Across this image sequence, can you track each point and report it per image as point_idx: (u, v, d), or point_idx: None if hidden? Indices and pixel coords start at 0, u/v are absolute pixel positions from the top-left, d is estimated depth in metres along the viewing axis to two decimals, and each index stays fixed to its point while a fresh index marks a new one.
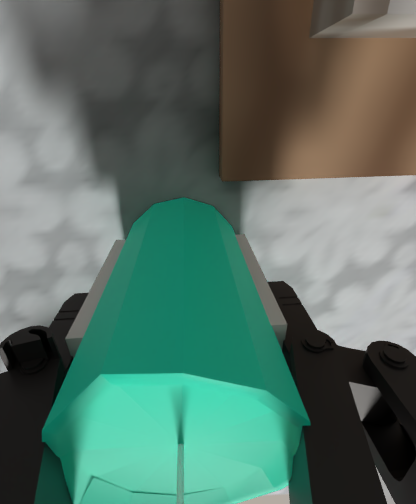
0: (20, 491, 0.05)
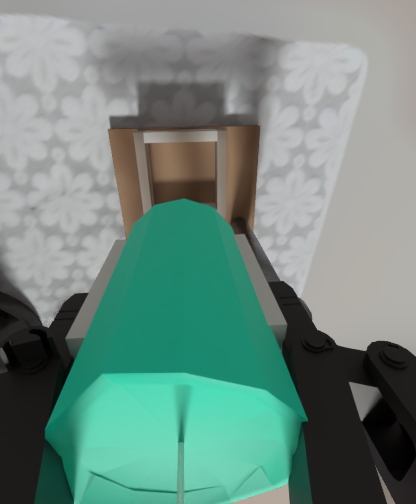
0: (20, 491, 0.05)
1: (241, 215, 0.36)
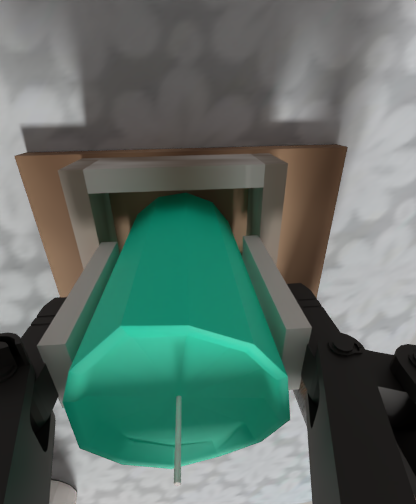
0: None
1: None
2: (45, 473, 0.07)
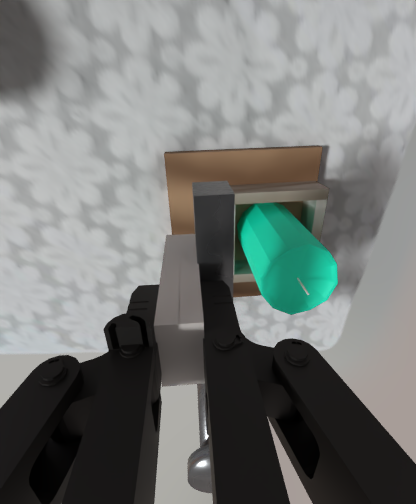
0: (122, 472, 0.05)
1: None
2: (155, 453, 0.07)
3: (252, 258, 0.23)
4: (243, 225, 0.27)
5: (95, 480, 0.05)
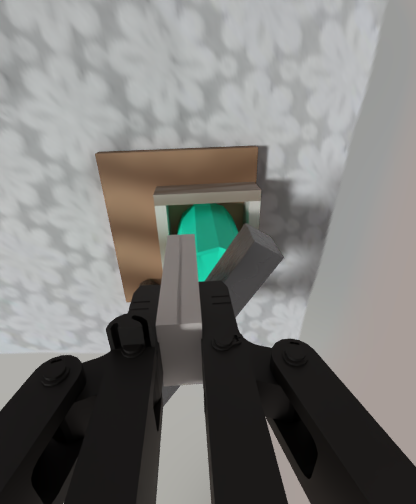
0: (125, 472, 0.05)
1: None
2: (157, 453, 0.07)
3: None
4: (179, 226, 0.27)
5: (97, 480, 0.05)
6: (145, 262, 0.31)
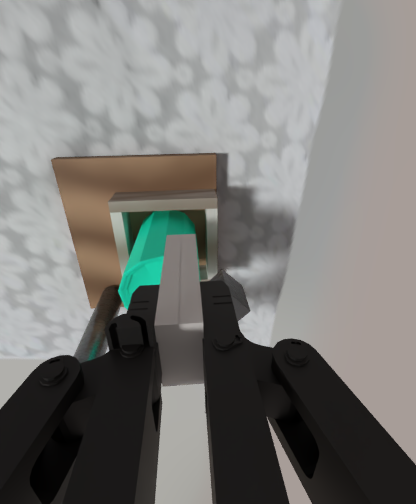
0: (123, 472, 0.05)
1: None
2: (155, 453, 0.07)
3: None
4: None
5: (96, 480, 0.05)
6: (108, 268, 0.31)
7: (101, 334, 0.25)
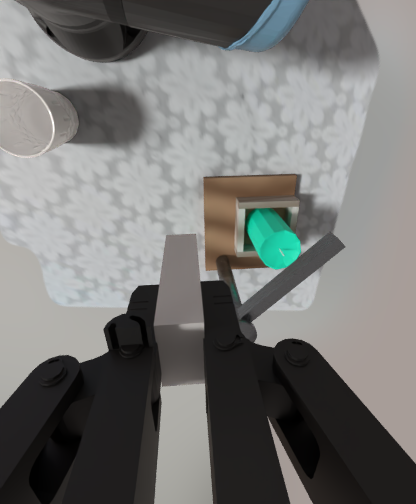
0: (122, 473, 0.05)
1: (229, 261, 0.51)
2: (155, 453, 0.07)
3: (255, 239, 0.41)
4: (249, 221, 0.46)
5: (95, 480, 0.05)
6: (222, 244, 0.49)
7: (232, 278, 0.44)
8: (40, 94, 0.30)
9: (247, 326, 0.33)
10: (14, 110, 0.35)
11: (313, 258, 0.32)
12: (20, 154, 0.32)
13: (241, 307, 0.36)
